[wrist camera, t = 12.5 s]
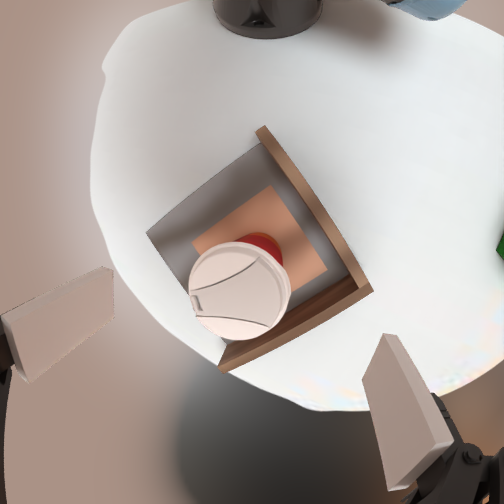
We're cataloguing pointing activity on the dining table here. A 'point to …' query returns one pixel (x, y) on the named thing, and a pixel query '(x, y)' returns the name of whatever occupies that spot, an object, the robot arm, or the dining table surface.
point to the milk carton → (501, 247)
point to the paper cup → (240, 287)
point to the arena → (277, 226)
